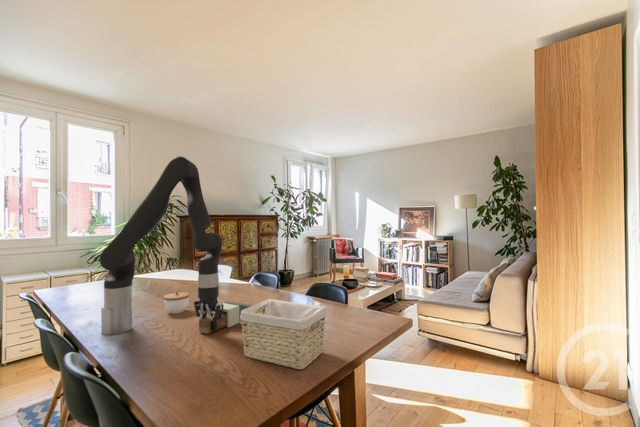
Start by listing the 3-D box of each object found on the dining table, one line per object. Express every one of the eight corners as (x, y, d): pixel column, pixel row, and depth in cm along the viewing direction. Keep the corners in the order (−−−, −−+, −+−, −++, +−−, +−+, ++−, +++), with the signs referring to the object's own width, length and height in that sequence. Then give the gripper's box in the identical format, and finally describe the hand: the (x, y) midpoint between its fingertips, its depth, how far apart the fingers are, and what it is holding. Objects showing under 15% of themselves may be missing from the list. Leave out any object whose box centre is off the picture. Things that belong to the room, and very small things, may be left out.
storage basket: (237, 357, 95) (237, 310, 95) (269, 338, 109) (269, 297, 110) (303, 375, 84) (302, 321, 84) (329, 351, 98) (328, 306, 98)
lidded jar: (182, 315, 136) (182, 294, 136) (159, 315, 136) (159, 294, 137) (193, 308, 147) (193, 288, 147) (171, 308, 147) (171, 288, 147)
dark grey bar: (252, 321, 127) (252, 307, 127) (224, 316, 135) (224, 302, 135) (260, 317, 132) (260, 304, 132) (232, 312, 139) (232, 299, 139)
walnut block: (207, 333, 113) (207, 321, 113) (199, 331, 115) (199, 319, 115) (230, 323, 124) (230, 312, 124) (222, 322, 126) (222, 311, 126)
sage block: (228, 327, 120) (228, 309, 120) (213, 324, 124) (213, 306, 124) (239, 322, 125) (239, 305, 125) (224, 319, 129) (224, 303, 129)
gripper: (187, 285, 117) (187, 329, 116) (214, 288, 110) (214, 336, 110) (203, 281, 123) (203, 323, 123) (229, 284, 116) (229, 329, 116)
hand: (208, 329), depth 116 cm, fingers closed on walnut block, 4 cm apart
